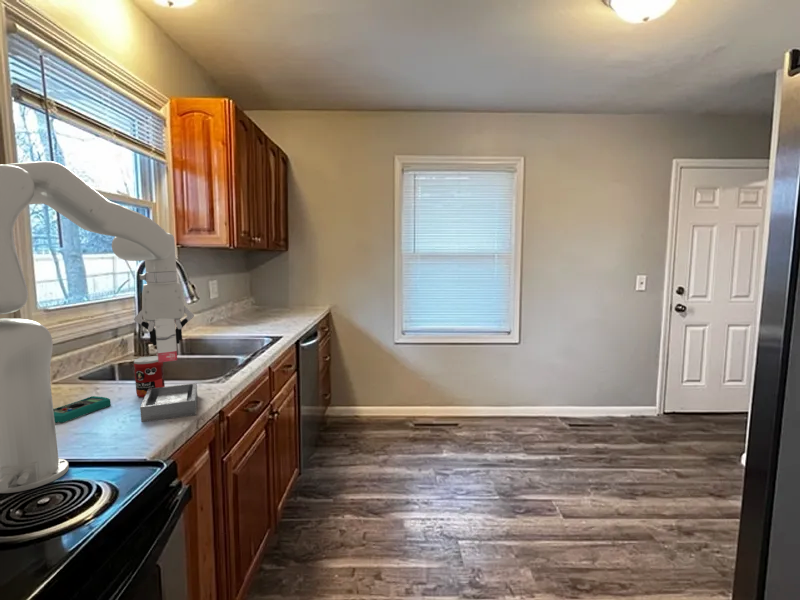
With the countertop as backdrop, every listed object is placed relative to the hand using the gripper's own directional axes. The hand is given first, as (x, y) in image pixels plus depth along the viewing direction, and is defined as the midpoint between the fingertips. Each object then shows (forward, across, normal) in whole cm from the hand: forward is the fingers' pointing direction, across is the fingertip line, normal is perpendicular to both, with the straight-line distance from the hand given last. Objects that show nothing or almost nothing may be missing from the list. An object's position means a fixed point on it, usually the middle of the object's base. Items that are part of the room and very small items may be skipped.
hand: (166, 343), depth 131 cm
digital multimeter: (+19, -24, +7) cm, 31 cm away
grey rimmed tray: (+19, 0, 0) cm, 19 cm away
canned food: (+19, -7, +18) cm, 27 cm away
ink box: (+5, 0, 0) cm, 5 cm away
